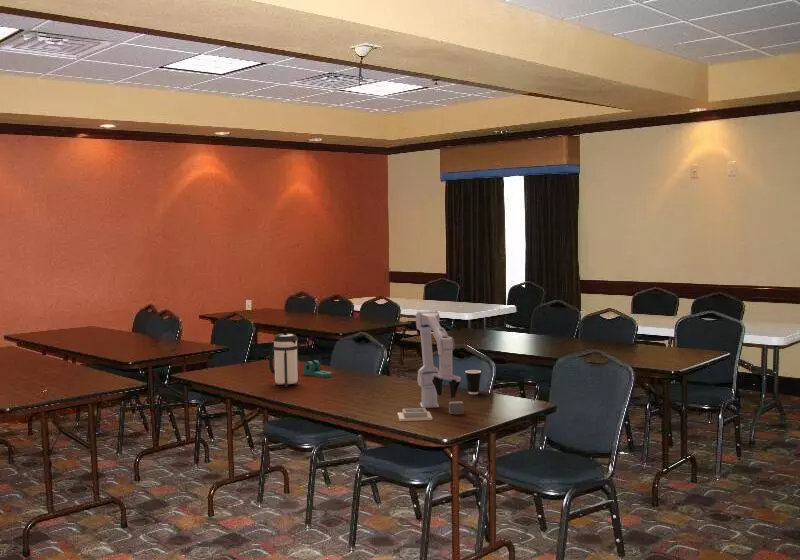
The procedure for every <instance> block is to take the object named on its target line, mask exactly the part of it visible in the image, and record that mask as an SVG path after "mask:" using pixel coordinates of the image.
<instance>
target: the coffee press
mask: <svg viewBox="0 0 800 560" xmlns="http://www.w3.org/2000/svg"><path fill="white" fill-rule="evenodd" d="M282 332H283V333H278V334H276V335H275V336H274V337H273V339H272V341H273V344H272V345H271V346H270V347H269V349H268V350H269V351H268V360H269V361H268V363H269V369H270V372H271V373H272V374H273V376H274V379H273V380H274V381H273V382H272V383H271V384H272V386H273V387H274V386H276V385H277V384H278V385H284V388H288V386H289V385H292V384H297V385H298V386H300V385H301V381H300V380H299V364H298V360H299V359H298V358H299V357H298V355H299V353H298V351H299V350H298V348H299V346H298V340H299V338H298V337H297V335H296V334H294V333H289V332H288V329H287V328H284V329H283V331H282ZM274 382H275V384H274ZM298 382H299V383H298Z"/></svg>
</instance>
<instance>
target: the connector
mask: <svg viewBox="0 0 800 560" xmlns="http://www.w3.org/2000/svg"><path fill="white" fill-rule="evenodd" d="M464 406H465V405H464V402H463V401H462V400H460V401H459V400H457V401H448V414H449V413H450V414H453V415H464V414H465V413H464V410H465V407H464ZM450 414H449V415H450Z"/></svg>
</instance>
